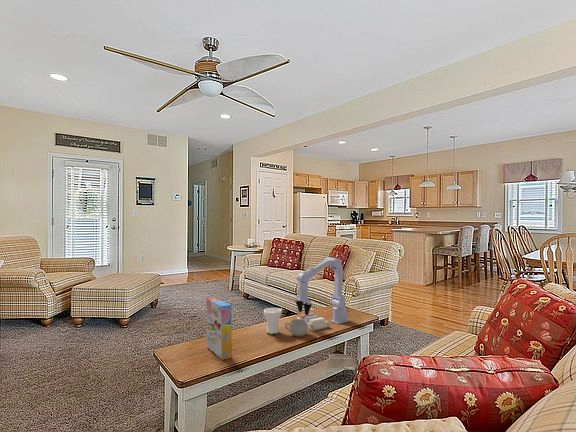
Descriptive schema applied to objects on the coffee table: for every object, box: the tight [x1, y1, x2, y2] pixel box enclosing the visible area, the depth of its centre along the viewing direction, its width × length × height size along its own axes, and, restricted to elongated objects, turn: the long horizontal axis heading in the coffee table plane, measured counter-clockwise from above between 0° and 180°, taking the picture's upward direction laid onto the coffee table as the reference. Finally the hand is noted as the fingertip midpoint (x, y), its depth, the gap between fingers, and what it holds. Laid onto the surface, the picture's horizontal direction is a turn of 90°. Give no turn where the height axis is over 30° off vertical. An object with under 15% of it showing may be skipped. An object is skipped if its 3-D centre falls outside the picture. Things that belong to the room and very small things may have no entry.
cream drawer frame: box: [295, 316, 330, 332], centre depth 219 cm, size 13×20×4 cm, turn 30°
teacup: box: [284, 318, 309, 338], centre depth 201 cm, size 14×11×8 cm
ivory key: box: [309, 316, 326, 325], centre depth 214 cm, size 10×4×2 cm, turn 120°
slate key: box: [304, 314, 320, 322], centre depth 219 cm, size 10×4×2 cm, turn 120°
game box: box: [205, 297, 233, 361], centre depth 176 cm, size 21×6×27 cm, turn 35°
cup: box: [263, 307, 283, 336], centre depth 205 cm, size 11×11×14 cm
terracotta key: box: [298, 312, 315, 319], centre depth 224 cm, size 10×4×2 cm, turn 120°
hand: (303, 313), depth 211 cm, fingers open, 7 cm apart
